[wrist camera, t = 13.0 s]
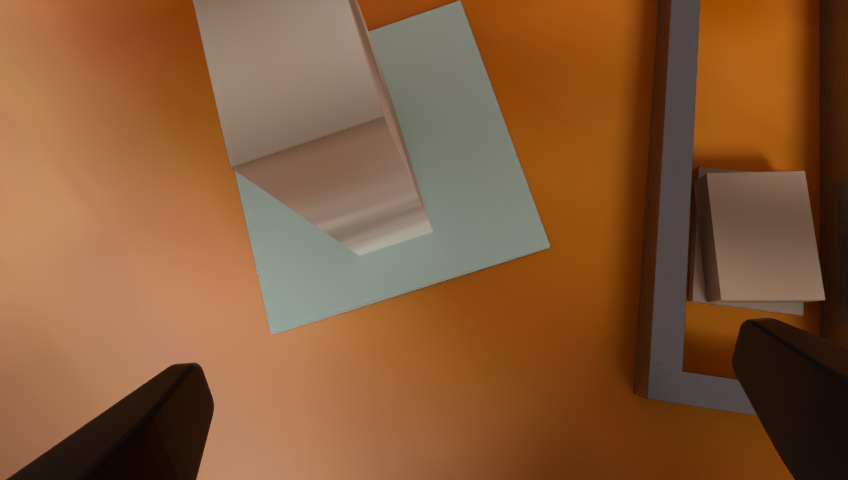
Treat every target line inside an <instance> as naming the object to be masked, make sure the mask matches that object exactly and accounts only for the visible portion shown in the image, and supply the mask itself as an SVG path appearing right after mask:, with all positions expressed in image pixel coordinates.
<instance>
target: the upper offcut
mask: <svg viewBox="0 0 848 480" xmlns="http://www.w3.org/2000/svg"><path fill="white" fill-rule="evenodd" d="M694 187H695V196H696V205H697V214H698V223H699V233H700V242H701V251H702V260H703V269H704V278H705V287H706V296H707V302H813V301H821V300H825V294H824V288H823V282H822V276H821V269H820V263H819V257H818V250H817V244H816V238H815V231H814V225H813V219H812V213H811V206H810V200H809V194H808V187H807V181H806V175H805V171H777V172H736V173H706V174H705V175H703V176H702V177H701V178H699V179H698V180H697V181H695V182H694Z"/></svg>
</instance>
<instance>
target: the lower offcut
mask: <svg viewBox="0 0 848 480" xmlns="http://www.w3.org/2000/svg"><path fill="white" fill-rule="evenodd" d="M736 172H752V171H742V170H732V169H721V168H711V167H701V166H699V167H698V168H696V169H695V179H694V182H695V181H697V180H698V179H699V178H701V177H702V176H703V175H705V174H706V173H736ZM688 301H689V302H697V303H704V304H712V305H719V306H727V307H735V308H742V309H750V310H757V311H765V312H772V313H780V314H788V315H795V316H801V315H804V302H707V296H706V287H705V278H704V269H703V260H702V251H701V242H700V233H699V223H698V214H697V205H696V196H695V187H694V199H693V219H692V239H691V259H690V279H689V299H688Z"/></svg>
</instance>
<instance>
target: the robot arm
mask: <svg viewBox="0 0 848 480" xmlns="http://www.w3.org/2000/svg"><path fill="white" fill-rule="evenodd" d="M732 365H733V370H734V373H735V375H736V377H737V379H738V381H739V383H740V384H741V386H742V388H743V390H744V392H745V394H746V396H747V397H748V399H749V401H750V403H751V405H752V407H753V408H754V410H755V412H756V414H757V416H758V418H759V420H760V421H761V423H762V425H763V427H764V429H765V431H766V432H767V434H768V436H769V438H770V440H771V442H772V444H773V445H774V447H775V449H776V450H777V452H778V454H779V456H780V457H781V459H782V461H783V462H784V464H785V465H786V467H787V468H788V470H789V472H790V473H791V475H792V476H793V478H794V479H795V480H848V348H846V347H843V346H841V345H838V344H836V343H833V342H831V341H828V340H826V339H823V338H821V337H818V336H816V335H813V334H811V333H808V332H806V331H804V330H801V329H799V328H796V327H794V326H791V325H789V324H786V323H784V322H781V321H779V320H776V319H773V318H761V319H749V320H746V321H744V322H743V323H742V325H741V327H740V330H739V334H738V338H737V342H736V346H735V350H734V354H733V358H732ZM213 411H214V403H213V398H212V395H211V392H210V389H209V386H208V383H207V381H206V378H205V375H204V372H203V370H202V367H201V366H200V365H199V364H197V363H183V364H174V365H171V366H170V367H168V368H167V369H165V370H164V371H162V372H161V373H159V374H158V375H156V376H155V377H154V378H152V379H151V380H149V381H148V382H146V383H145V384H143V385H142V386H141V387H139V388H138V389H136V390H135V391H133V392H132V393H130V394H129V395H128V396H126V397H125V398H123V399H122V400H120V401H119V402H117V403H116V404H115V405H113V406H112V407H110V408H109V409H107V410H106V411H104V412H103V413H102V414H100V415H99V416H97V417H96V418H94V419H93V420H91V421H90V422H89V423H87V424H86V425H84V426H83V427H81V428H80V429H79V430H77V431H76V432H74V433H73V434H71V435H70V436H68V437H67V438H66V439H64V440H63V441H61V442H60V443H58V444H57V445H55V446H54V447H53V448H51V449H50V450H48V451H47V452H45V453H44V454H42V455H41V456H40V457H38V458H37V459H35V460H34V461H32V462H31V463H29V464H28V465H27V466H25V467H24V468H22V469H21V470H19V471H18V472H16V473H15V474H14V475H12V476H11V477H9V478H8V479H6V480H196V479H197V475H198V471H199V467H200V463H201V459H202V455H203V452H204V448H205V444H206V440H207V436H208V432H209V428H210V424H211V420H212V417H213Z"/></svg>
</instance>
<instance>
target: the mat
mask: <svg viewBox="0 0 848 480" xmlns="http://www.w3.org/2000/svg"><path fill="white" fill-rule="evenodd" d="M368 32H369V35H370V37H371V40H372V43H373V46H374V48H375V51H376V54H377V57H378V59H379V62H380V65H381V68H382V70H383V73H384V76H385V79H386V83H387V86H388V89H389V92H390V95H391V98H392V102H393V105H394V108H395V111H396V114H397V117H398V121H399V124H400V127H401V130H402V133H403V136H404V140H405V143H406V146H407V149H408V152H409V155H410V159H411V162H412V165H413V168H414V171H415V174H416V178H417V181H418V184H419V187H420V190H421V193H422V197H423V200H424V203H425V206H426V209H427V212H428V216H429V219H430V222H431V225H432V228H433V231H434V232H432V233H429V234H425V235H422V236H419V237H416V238H413V239H410V240H407V241H404V242H401V243H398V244H394V245H391V246H388V247H385V248H382V249H379V250H376V251H373V252H370V253H366V254H363V255H360V256H359V255H357V254H356V253H354V252H353V251H351V250H350V249H349V248H347V247H346V246H344V245H343V244H341V243H340V242H338V241H337V240H335V239H334V238H333V237H331V236H330V235H328V234H327V233H325V232H324V231H322V230H321V229H319V228H318V227H317V226H315V225H314V224H312V223H311V222H309V221H308V220H306V219H305V218H303V217H302V216H300V215H299V214H298V213H296V212H295V211H293V210H292V209H290V208H289V207H287V206H286V205H284V204H283V203H282V202H280V201H279V200H277V199H276V198H274V197H273V196H271V195H270V194H268V193H267V192H265V191H264V190H263V189H261V188H260V187H258V186H257V185H255V184H254V183H252V182H251V181H249V180H248V179H247V178H245V177H244V176H242V175H241V174H239V173H238V172H236V171H235V170H234V171H235V175H236V180H237V184H238V189H239V193H240V198H241V202H242V207H243V211H244V216H245V220H246V225H247V229H248V234H249V238H250V243H251V247H252V252H253V256H254V260H255V265H256V269H257V274H258V278H259V283H260V287H261V292H262V296H263V301H264V305H265V310H266V314H267V319H268V323H269V328H270V332H271V334H277V333H280V332H284V331H287V330H290V329H293V328H296V327H300V326H303V325H306V324H309V323H312V322H316V321H319V320H322V319H325V318H328V317H331V316H335V315H338V314H341V313H344V312H347V311H351V310H354V309H357V308H360V307H363V306H367V305H370V304H373V303H376V302H379V301H383V300H386V299H389V298H392V297H395V296H398V295H402V294H405V293H408V292H411V291H414V290H418V289H421V288H424V287H427V286H430V285H434V284H437V283H440V282H443V281H446V280H449V279H453V278H456V277H459V276H462V275H465V274H469V273H472V272H475V271H478V270H481V269H485V268H488V267H491V266H494V265H497V264H500V263H504V262H507V261H510V260H513V259H516V258H520V257H523V256H526V255H529V254H532V253H536V252H539V251H542V250H545V249H548V248H550V244H549V241H548V239H547V236H546V233H545V230H544V228H543V225H542V222H541V219H540V217H539V214H538V211H537V208H536V206H535V203H534V200H533V198H532V195H531V192H530V189H529V187H528V184H527V181H526V178H525V176H524V173H523V170H522V168H521V165H520V162H519V159H518V157H517V154H516V151H515V148H514V146H513V143H512V140H511V137H510V135H509V132H508V129H507V127H506V124H505V121H504V118H503V116H502V113H501V110H500V107H499V105H498V102H497V99H496V96H495V94H494V91H493V88H492V86H491V83H490V80H489V77H488V75H487V72H486V69H485V66H484V64H483V61H482V58H481V56H480V53H479V50H478V47H477V45H476V42H475V39H474V36H473V34H472V31H471V28H470V25H469V23H468V20H467V17H466V15H465V12H464V9H463V6H462V4H461V1H460V0H459V1H456V2H453V3H451V4H448V5H445V6H442V7H439V8H436V9H433V10H430V11H427V12H424V13H421V14H418V15H415V16H412V17H409V18H407V19H404V20H401V21H398V22H395V23H392V24H389V25H386V26H383V27H380V28H377V29H374V30H371V31H368Z"/></svg>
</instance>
